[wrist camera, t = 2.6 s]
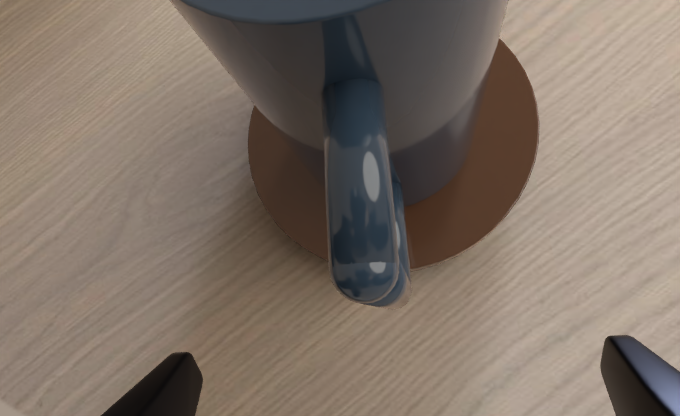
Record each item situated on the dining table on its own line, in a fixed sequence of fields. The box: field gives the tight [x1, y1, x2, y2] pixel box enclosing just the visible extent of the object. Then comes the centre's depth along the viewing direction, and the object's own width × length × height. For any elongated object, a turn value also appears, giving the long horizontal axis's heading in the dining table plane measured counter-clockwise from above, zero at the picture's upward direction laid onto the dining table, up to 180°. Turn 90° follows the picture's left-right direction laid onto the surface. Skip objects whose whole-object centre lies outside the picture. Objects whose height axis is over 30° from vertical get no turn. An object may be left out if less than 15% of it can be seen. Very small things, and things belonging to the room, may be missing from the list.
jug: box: [169, 0, 539, 310], centre depth 14 cm, size 16×14×14 cm
